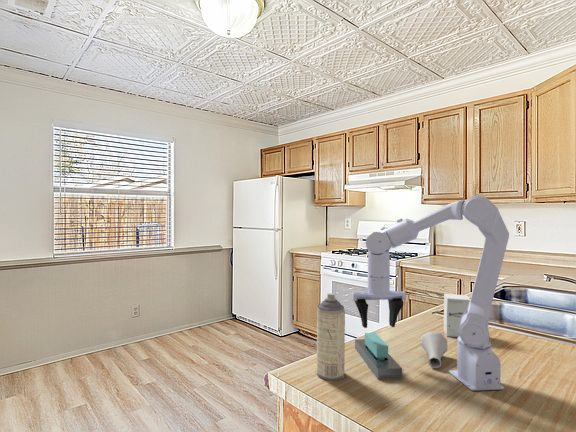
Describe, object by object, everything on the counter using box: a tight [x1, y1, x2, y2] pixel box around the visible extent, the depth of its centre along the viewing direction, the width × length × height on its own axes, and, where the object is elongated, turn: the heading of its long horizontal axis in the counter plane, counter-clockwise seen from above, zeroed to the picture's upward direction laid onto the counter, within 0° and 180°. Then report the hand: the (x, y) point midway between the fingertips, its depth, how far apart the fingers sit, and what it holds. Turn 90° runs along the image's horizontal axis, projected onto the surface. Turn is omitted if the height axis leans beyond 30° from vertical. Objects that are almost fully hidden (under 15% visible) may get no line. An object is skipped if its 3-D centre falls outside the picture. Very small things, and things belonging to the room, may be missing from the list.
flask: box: [420, 331, 448, 369], centre depth 97 cm, size 7×7×10 cm
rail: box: [354, 338, 403, 380], centre depth 97 cm, size 20×6×2 cm, turn 5°
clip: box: [364, 332, 389, 360], centre depth 97 cm, size 10×3×6 cm, turn 5°
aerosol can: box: [316, 292, 346, 381], centre depth 89 cm, size 7×7×20 cm
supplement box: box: [443, 293, 471, 338], centre depth 119 cm, size 7×7×13 cm
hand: (378, 326), depth 97 cm, fingers open, 7 cm apart
